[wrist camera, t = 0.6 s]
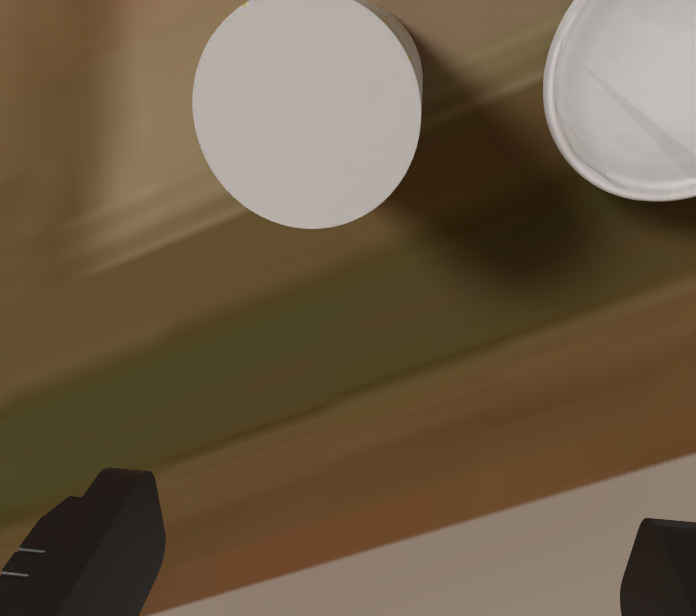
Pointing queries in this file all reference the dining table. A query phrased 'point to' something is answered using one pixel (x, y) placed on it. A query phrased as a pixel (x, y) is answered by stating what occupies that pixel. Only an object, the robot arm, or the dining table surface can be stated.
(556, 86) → the ramekin
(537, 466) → the dining table surface
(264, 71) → the cup
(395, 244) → the dining table surface
